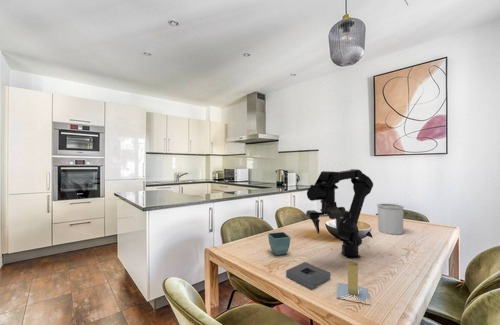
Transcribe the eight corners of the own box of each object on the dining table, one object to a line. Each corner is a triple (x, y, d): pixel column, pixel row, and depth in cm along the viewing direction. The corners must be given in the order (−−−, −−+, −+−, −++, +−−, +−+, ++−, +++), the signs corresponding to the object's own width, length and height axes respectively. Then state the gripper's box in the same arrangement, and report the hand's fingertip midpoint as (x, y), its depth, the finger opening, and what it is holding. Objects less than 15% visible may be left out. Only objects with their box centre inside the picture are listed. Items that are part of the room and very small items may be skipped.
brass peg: (347, 289, 81) (347, 261, 81) (357, 291, 79) (357, 262, 79) (348, 293, 78) (348, 264, 78) (357, 295, 77) (357, 266, 77)
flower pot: (273, 257, 108) (273, 238, 108) (267, 250, 117) (267, 233, 117) (290, 255, 111) (290, 237, 111) (283, 248, 119) (283, 231, 119)
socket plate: (305, 267, 98) (305, 262, 98) (330, 278, 89) (330, 272, 89) (286, 276, 90) (286, 270, 90) (311, 289, 81) (311, 282, 81)
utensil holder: (372, 229, 153) (372, 203, 153) (386, 227, 159) (386, 202, 159) (393, 236, 139) (394, 207, 139) (408, 233, 146) (408, 205, 146)
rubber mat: (337, 283, 85) (337, 282, 85) (367, 289, 81) (367, 288, 81) (336, 298, 76) (336, 297, 76) (370, 305, 72) (370, 304, 72)
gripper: (314, 202, 95) (314, 240, 95) (357, 201, 96) (357, 238, 96) (305, 198, 106) (305, 231, 106) (344, 197, 108) (344, 230, 108)
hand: (328, 233), depth 104 cm, fingers open, 9 cm apart
